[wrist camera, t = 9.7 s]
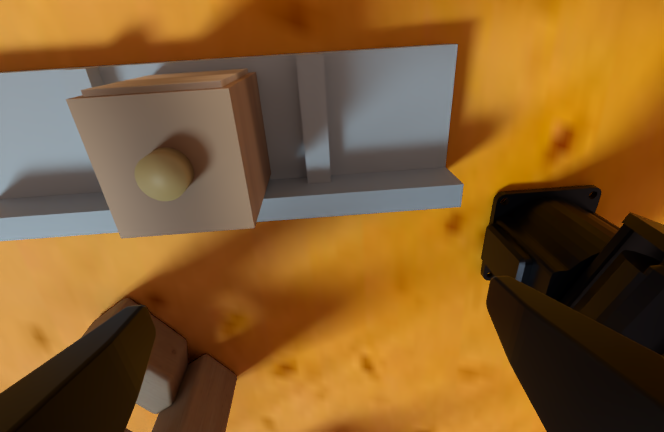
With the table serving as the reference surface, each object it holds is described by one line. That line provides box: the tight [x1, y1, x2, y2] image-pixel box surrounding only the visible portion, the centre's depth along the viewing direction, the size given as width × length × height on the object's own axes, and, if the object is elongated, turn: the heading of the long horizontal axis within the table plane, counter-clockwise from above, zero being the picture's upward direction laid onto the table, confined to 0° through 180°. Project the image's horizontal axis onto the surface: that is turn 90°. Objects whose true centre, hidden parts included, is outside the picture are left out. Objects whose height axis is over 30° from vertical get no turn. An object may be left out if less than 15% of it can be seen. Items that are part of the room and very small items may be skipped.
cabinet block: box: [66, 69, 271, 238], centre depth 14 cm, size 5×5×7 cm
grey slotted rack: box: [0, 44, 464, 241], centre depth 17 cm, size 24×7×4 cm, turn 93°
